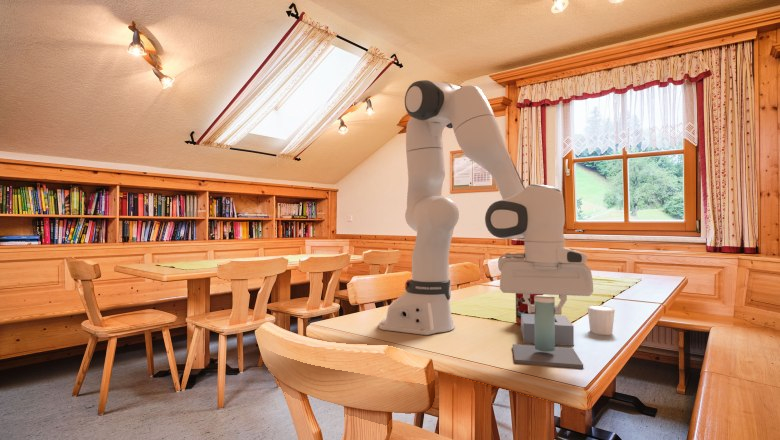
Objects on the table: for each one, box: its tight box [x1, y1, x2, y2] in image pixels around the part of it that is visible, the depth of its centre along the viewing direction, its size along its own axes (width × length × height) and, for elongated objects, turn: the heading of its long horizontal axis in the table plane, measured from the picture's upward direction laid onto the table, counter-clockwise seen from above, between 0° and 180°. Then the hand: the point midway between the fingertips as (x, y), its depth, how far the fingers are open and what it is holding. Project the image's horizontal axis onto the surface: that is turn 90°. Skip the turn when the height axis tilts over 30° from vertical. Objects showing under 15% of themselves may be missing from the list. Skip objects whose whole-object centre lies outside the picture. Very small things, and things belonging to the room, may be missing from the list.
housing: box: [520, 314, 575, 347], centre depth 111 cm, size 12×12×5 cm
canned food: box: [515, 293, 544, 326], centre depth 126 cm, size 8×8×11 cm
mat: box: [512, 343, 584, 370], centre depth 95 cm, size 14×12×1 cm
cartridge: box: [534, 294, 556, 352], centre depth 95 cm, size 4×4×12 cm
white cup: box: [587, 305, 616, 336], centre depth 117 cm, size 7×7×7 cm
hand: (544, 313), depth 95 cm, fingers closed on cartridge, 4 cm apart
